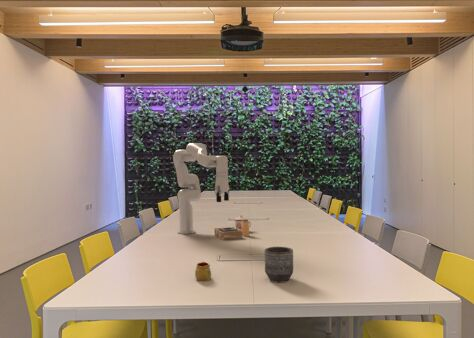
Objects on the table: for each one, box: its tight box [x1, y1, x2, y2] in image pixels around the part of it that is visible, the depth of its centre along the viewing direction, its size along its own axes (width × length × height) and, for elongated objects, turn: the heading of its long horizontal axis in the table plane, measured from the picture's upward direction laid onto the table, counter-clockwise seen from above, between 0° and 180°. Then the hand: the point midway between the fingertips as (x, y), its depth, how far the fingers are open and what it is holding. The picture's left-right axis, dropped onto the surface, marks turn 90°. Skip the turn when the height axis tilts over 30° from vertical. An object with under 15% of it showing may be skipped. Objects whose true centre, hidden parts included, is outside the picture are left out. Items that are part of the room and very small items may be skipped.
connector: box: [241, 219, 250, 237], centre depth 269 cm, size 4×4×11 cm
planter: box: [264, 246, 294, 283], centre depth 169 cm, size 12×12×13 cm
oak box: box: [213, 226, 243, 241], centre depth 266 cm, size 17×14×6 cm
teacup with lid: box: [234, 214, 252, 230], centre depth 286 cm, size 12×9×12 cm
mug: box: [194, 261, 212, 282], centre depth 174 cm, size 12×7×7 cm, turn 177°
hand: (222, 201), depth 254 cm, fingers open, 9 cm apart
